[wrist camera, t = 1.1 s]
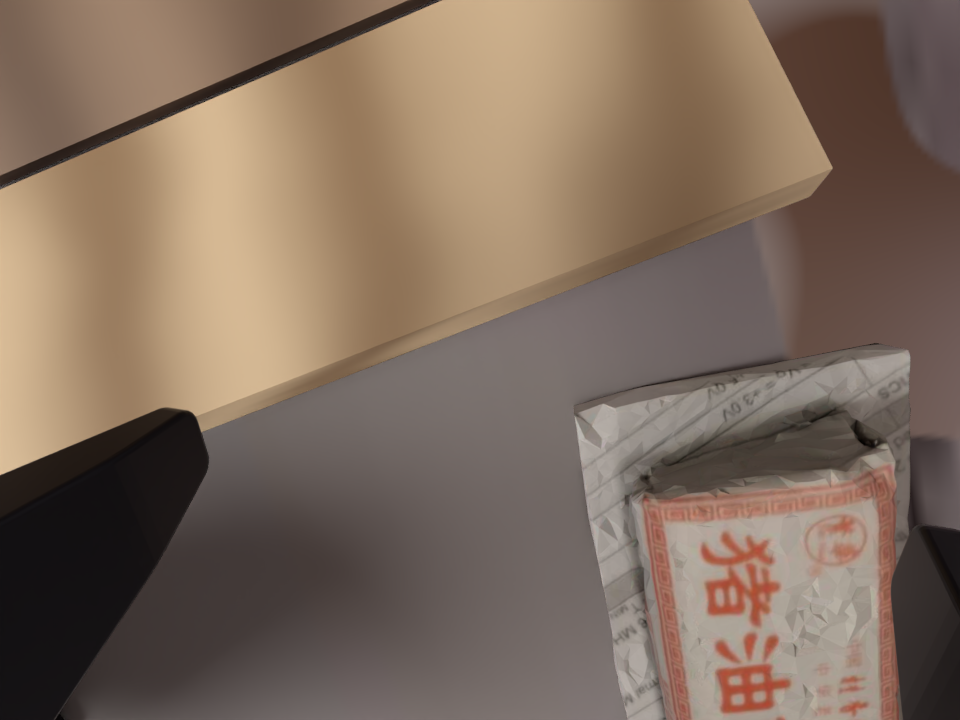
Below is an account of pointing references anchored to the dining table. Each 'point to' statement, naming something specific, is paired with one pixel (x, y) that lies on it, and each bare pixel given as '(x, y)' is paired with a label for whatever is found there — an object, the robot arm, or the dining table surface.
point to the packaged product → (754, 537)
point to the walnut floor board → (144, 61)
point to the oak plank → (382, 204)
